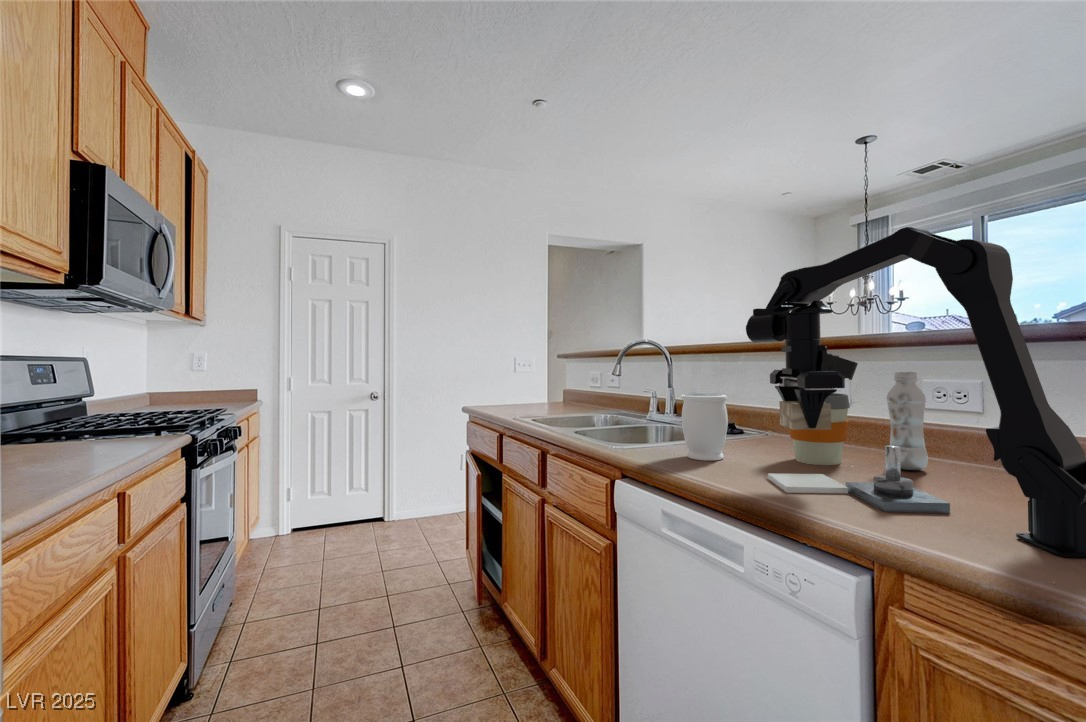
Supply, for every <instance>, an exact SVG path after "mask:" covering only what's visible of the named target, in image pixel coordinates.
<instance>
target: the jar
mask: <svg viewBox="0 0 1086 722" xmlns="http://www.w3.org/2000/svg"><path fill="white" fill-rule="evenodd" d="M681 400H682V401H683V404H682V408H681V427H682V432H683V438H684V443H685V445H686V447H687V449H688V451H687V452H686V457H687V458H689V459H692V460H696V461H705V462H706V461H707V462H708V461H709V462H712V461H720V460H724V458H725V456H724V454H723V452H722V451H723V449H724V448H725V446H726V445H725V444H726V440H727V431H728V425H729V417H728V408H727V405H726V401H727V400H728V396H727V394H722V393H686V394H685V393H684V394H681Z"/></svg>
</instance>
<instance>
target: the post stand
mask: <svg viewBox="0 0 1086 722" xmlns="http://www.w3.org/2000/svg"><path fill="white" fill-rule="evenodd" d="M884 469H885V472H884V473H885V475H874V476H873V482H872V481H866V482H865V481H845V486H846V487H848V494H851V495H853V496H855V497H857V498H859V499H860V500H862V501H864V502H866V503H867V504H869V505H871V506H873V507H875V508H876V509H878V510H880V511H881V512H883V513H917V514H918V513H922V514H926V513H927V514H930V513H931V514H951V502H949V501H945V500H943V499H941V498H939V497H937V496H934V495H932V494H929V493H927V492H924V491H922V490H921V489H917V488H915V487H914V481H913V479H910V478H907V477H903V476H901V472H902V471H901V470H902V469H900V447H898V446H889V445H884Z"/></svg>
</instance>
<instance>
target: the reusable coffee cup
mask: <svg viewBox="0 0 1086 722" xmlns="http://www.w3.org/2000/svg"><path fill="white" fill-rule="evenodd" d="M824 403H829V404H831V429H830V430H792V429H790V428H788V431H789V437H790V439H792V445H793V449H794V450H793V451H794V456H795V460H796V461H797V462H799V463H802V464H808V465H817V466H837V465H841V464H842V461H843V452H844V451H843V450H844V444H845V442H846V441H847V437H848V430H849V428H848V427H849V420H848V412H849V411H848V410H849V409H850V401H849V395H848V394H847V393H846V394H845V393H836V392H835V393H832V394H831V395H830V396H828V397H827V398H826V399H825V401H824Z"/></svg>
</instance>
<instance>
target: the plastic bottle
mask: <svg viewBox="0 0 1086 722" xmlns="http://www.w3.org/2000/svg"><path fill="white" fill-rule="evenodd" d="M893 381H895V383H894V384H893V386H892V387H891V388H890V389H889V390H888V392H887V394H886V402H887V408H888V409H887V410H888V415H889V423H890V438H889V445H888V446H898V447H900V469H901V470H904V471H922V470H925V468H927V466H928V463H929V457H928V451H927V448H926V442H925V435H924V417H925V415H924V414H925V411H926V410H925V409H926V402H927V398H926V395H925V393H924V391H923V390H922V389H921V388H920V387H919V385H917V382H918V372H917V371H895V372H894V378H893Z"/></svg>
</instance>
